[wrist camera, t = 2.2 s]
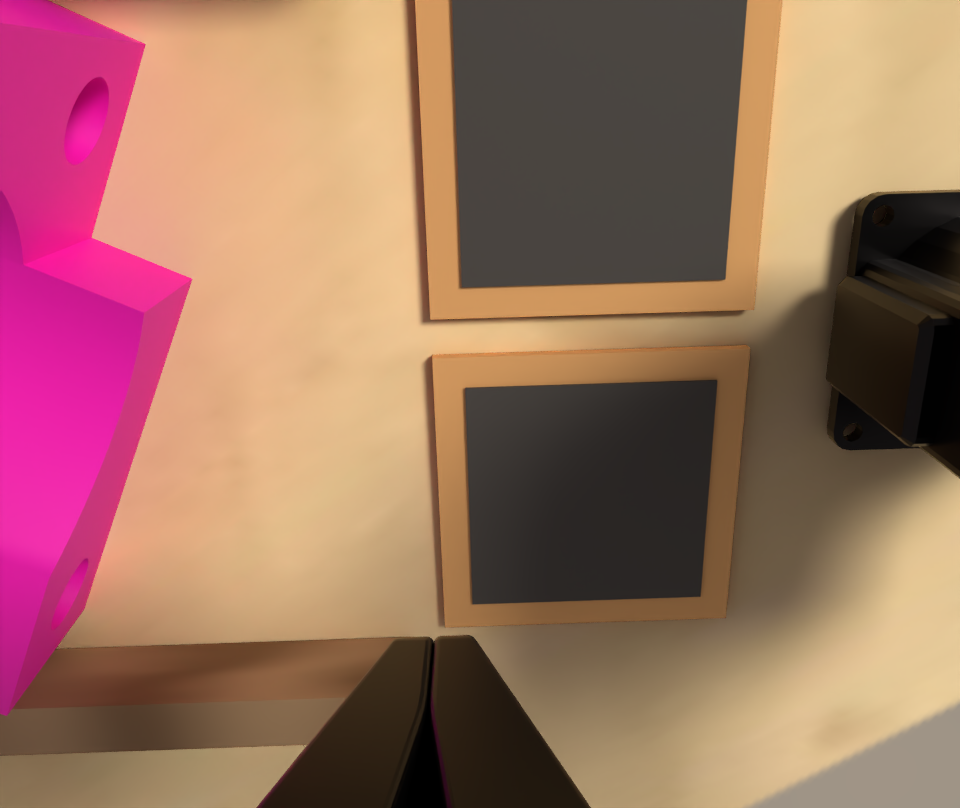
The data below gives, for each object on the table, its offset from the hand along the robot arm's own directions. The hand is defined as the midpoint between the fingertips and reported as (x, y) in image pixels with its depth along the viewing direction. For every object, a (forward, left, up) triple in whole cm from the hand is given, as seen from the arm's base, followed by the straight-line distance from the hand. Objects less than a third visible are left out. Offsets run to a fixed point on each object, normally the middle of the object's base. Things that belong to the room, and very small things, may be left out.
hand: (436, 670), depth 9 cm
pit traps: (-4, 0, -13) cm, 13 cm away
